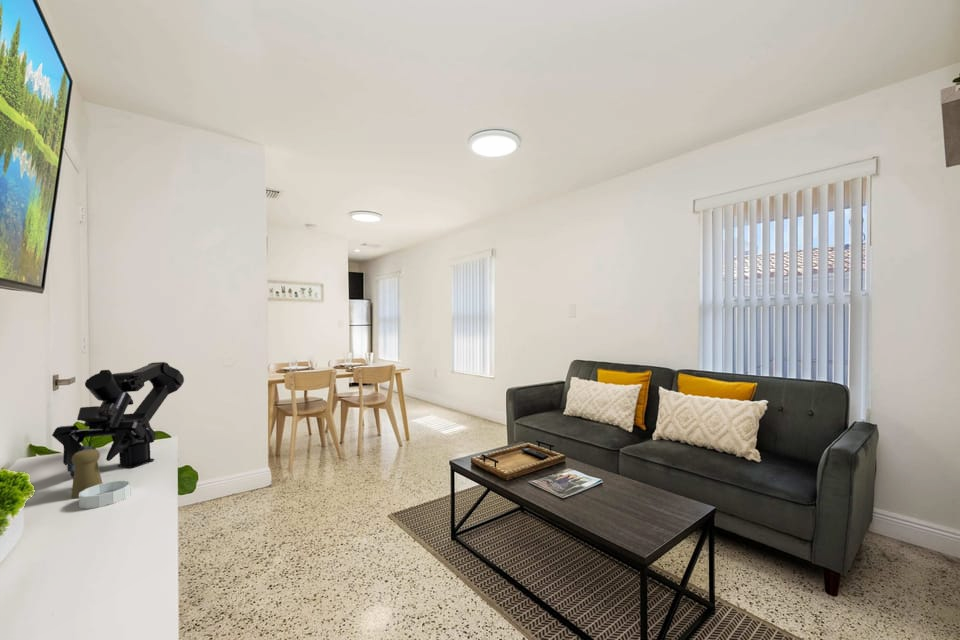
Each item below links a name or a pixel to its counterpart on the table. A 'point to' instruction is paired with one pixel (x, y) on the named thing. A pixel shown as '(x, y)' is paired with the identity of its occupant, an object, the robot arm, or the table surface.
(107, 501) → the bowl
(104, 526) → the table surface
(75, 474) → the cork
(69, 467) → the stone
